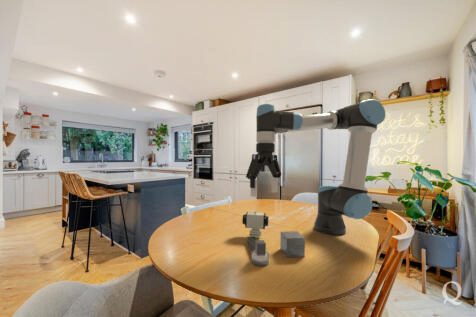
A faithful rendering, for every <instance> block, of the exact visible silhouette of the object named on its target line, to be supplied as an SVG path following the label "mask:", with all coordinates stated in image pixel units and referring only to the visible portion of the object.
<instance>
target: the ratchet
mask: <svg viewBox="0 0 476 317" xmlns="http://www.w3.org/2000/svg"><path fill="white" fill-rule="evenodd" d="M247 244H248V247H249V249H250V251H251V263H252V265H254V266H255V267H261V268H262V267H267V266H268V265H269V263H270V253H269V251H267V248H266V247H267V246H266V244H267V243H266V241H265V239H264V240H263V239H262V240H261V239H258V238H256V237H250V236H247Z"/></svg>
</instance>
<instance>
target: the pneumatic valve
mask: <svg viewBox="0 0 476 317" xmlns="http://www.w3.org/2000/svg"><path fill="white" fill-rule="evenodd" d="M266 214H267V213H266V212H257V210H255V211H254V212H253V211H246V212H245V214H243V215H242V221H241V222H242V224H243V225H244V227H245V228H244V229H251V230H249V232H248V233H249V237H256V239H260V237H262V230H265V229H266V227H269V216H267V215H266Z"/></svg>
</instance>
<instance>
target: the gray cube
mask: <svg viewBox="0 0 476 317" xmlns="http://www.w3.org/2000/svg"><path fill="white" fill-rule="evenodd" d="M305 242H306V237H304V236H303V235H302V234H301V233H300V232H298V231H280V242H279V243H280V246H279V248H280V249H279V250H281V252H282V254H284V256H285V258H304V257H305V255H306V250H305V249H306V243H305Z"/></svg>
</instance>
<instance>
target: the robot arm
mask: <svg viewBox="0 0 476 317" xmlns="http://www.w3.org/2000/svg"><path fill="white" fill-rule="evenodd" d="M255 117H256V139H255V140H256V144H255V147H256V148H255V151H256V152H257V153H253V154H251V161H250V162H249V163H250V164H249V167H248V169H247V172H246V175H245V178H247V179H248V180H249V187H250V188H249V189H250V197H254V198H257V197H258V179H257V178H258V176H259V173H260V172H261V170H262V168H263V167H264V166H266V167H268V170H269V173H271V175H272V176H271V193H273V194H279V193H278V190H279V188H278V186H279V179H280V178H281V176H282V172H281V169H280V168H281V167H280V164H279V161H278V155H277V154H273V153H275V147H276V146H275V145H276V144H275V142H276V141H275V140H276V135H277V134H282V133H283V134H285V133H293V132H302V131H303V132H304V131H312V130H323V129H327V130H329V131H331V130H347V131H348V132H349V133H350V135H349V140H348V146H347V154H346V160H345V167H344V172H343V173H344V174H343V180H342V183H340V184H338V185H321V186H319V187H318V188H317V189H318V190H317V215H316V218H315V221H314V223H313V226H314V227H313V229H314V230H316V231H317V232H320V233H324V234H326V235H327V234H328V235H336V236H337V235H344V234H345V235H346V233H347V228H346V224H345V221H344V218H343V216H345V217H347V218H350V219H354V220H362V219H364V218H366V217H368V216H369V215H370V213H371V211H372V209H373V201H372V198H371V196H370V195H369V194H368V191H369V190H368V189H367V187H366V185H365V183H366V176H367V172H368V171H367V170H368V164H369V156H370V150H371V149H370V148H371V144H372V142H371V141H372V137H373V136H372V135H373V134H374V133H375V132H377V130H378V125H380V124H381V123H383V122H384V121H385V119H386V109H385V107H384V106H383V105H382V102H380V101H378V100H377V99H374V98H371V99H366V100H365V99H364V100H362V101H360V102H357V103H353V104H350V105H347V106H345V107H343V108H339V109H336V110H329V111H327V112H326V113H318V114H317V113H315V114H305V115H302V114H301V113H300V112H295V111H281V110H276V107H275V105H274V104H270V103H264V104H260V105H258V106H257V108H256V116H255Z"/></svg>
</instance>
